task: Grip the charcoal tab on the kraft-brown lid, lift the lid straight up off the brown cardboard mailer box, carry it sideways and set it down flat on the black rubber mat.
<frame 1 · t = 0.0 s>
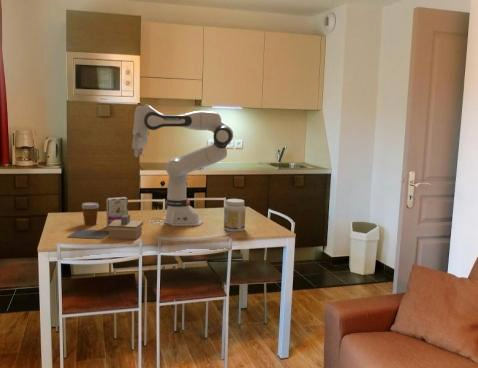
hand: (138, 155, 286), 39 cm above the table, tool pointing down, fingers open, 8 cm apart
candy bar box: (117, 226, 276), on the table
disposable coffee cup: (90, 224, 279), on the table
mat: (89, 234, 258), on the table
supplement tub: (234, 229, 279), on the table
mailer: (125, 235, 257), on the table
lid: (125, 224, 256), point 6 cm above the table, touching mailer
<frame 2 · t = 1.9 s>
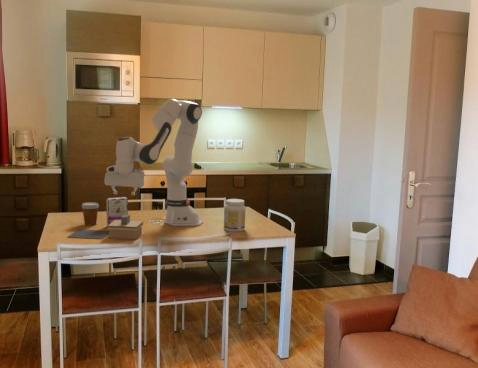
hand: (124, 194, 254), 22 cm above the table, tool pointing down, fingers open, 8 cm apart
nothing on the table moved.
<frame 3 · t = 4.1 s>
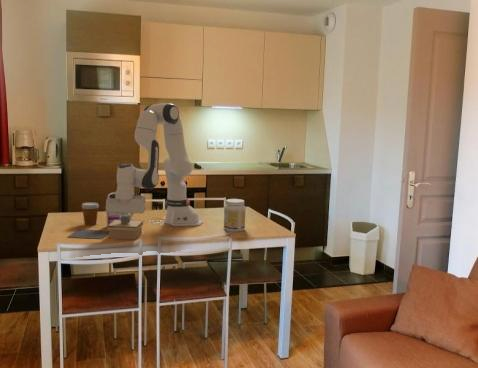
hand: (125, 220, 256), 8 cm above the table, tool pointing down, fingers closed on lid, 3 cm apart
lid: (125, 224, 256), point 6 cm above the table, touching gripper, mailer
everything else where it was.
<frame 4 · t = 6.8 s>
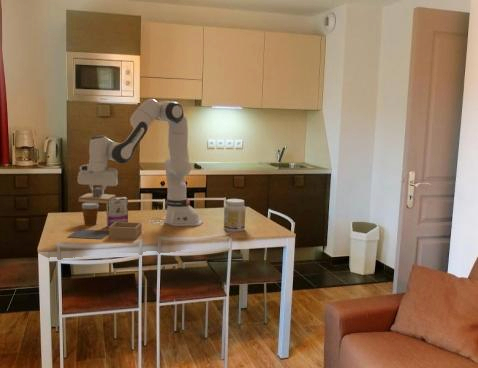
hand: (97, 193, 254), 22 cm above the table, tool pointing down, fingers closed on lid, 3 cm apart
lid: (97, 197, 254), point 20 cm above the table, touching gripper
everything else where it was.
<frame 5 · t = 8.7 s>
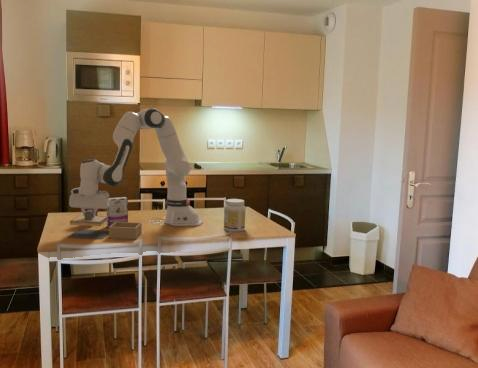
hand: (89, 216, 256), 10 cm above the table, tool pointing down, fingers closed on lid, 3 cm apart
lid: (89, 220, 256), point 8 cm above the table, touching gripper
everything else where it was.
when the fingers open (5 cm above the table, at t = 9.9 s): lid drops 1 cm, resting on mat.
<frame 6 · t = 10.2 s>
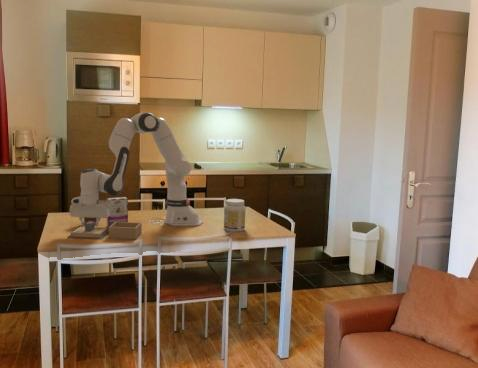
hand: (89, 225, 257), 5 cm above the table, tool pointing down, fingers open, 5 cm apart
lid: (89, 231, 257), point 1 cm above the table, touching mat
everything else where it was.
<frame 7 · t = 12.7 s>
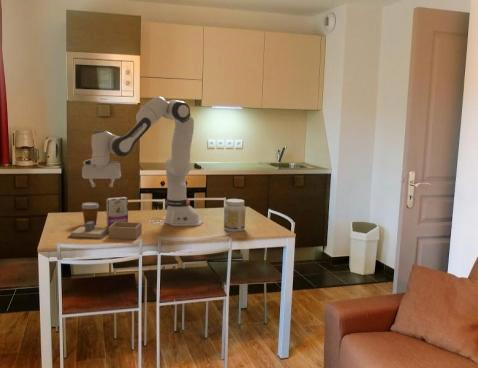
hand: (102, 186, 261), 24 cm above the table, tool pointing down, fingers open, 8 cm apart
nothing on the table moved.
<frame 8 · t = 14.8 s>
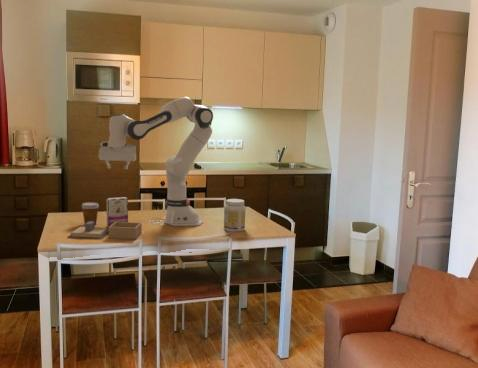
hand: (117, 168, 269), 33 cm above the table, tool pointing down, fingers open, 8 cm apart
nothing on the table moved.
at the end: lid 0.1 cm off-centre on the mat, point 1.5 cm above the mat's base; lid tilted 0°; the gripper is holding nothing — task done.
